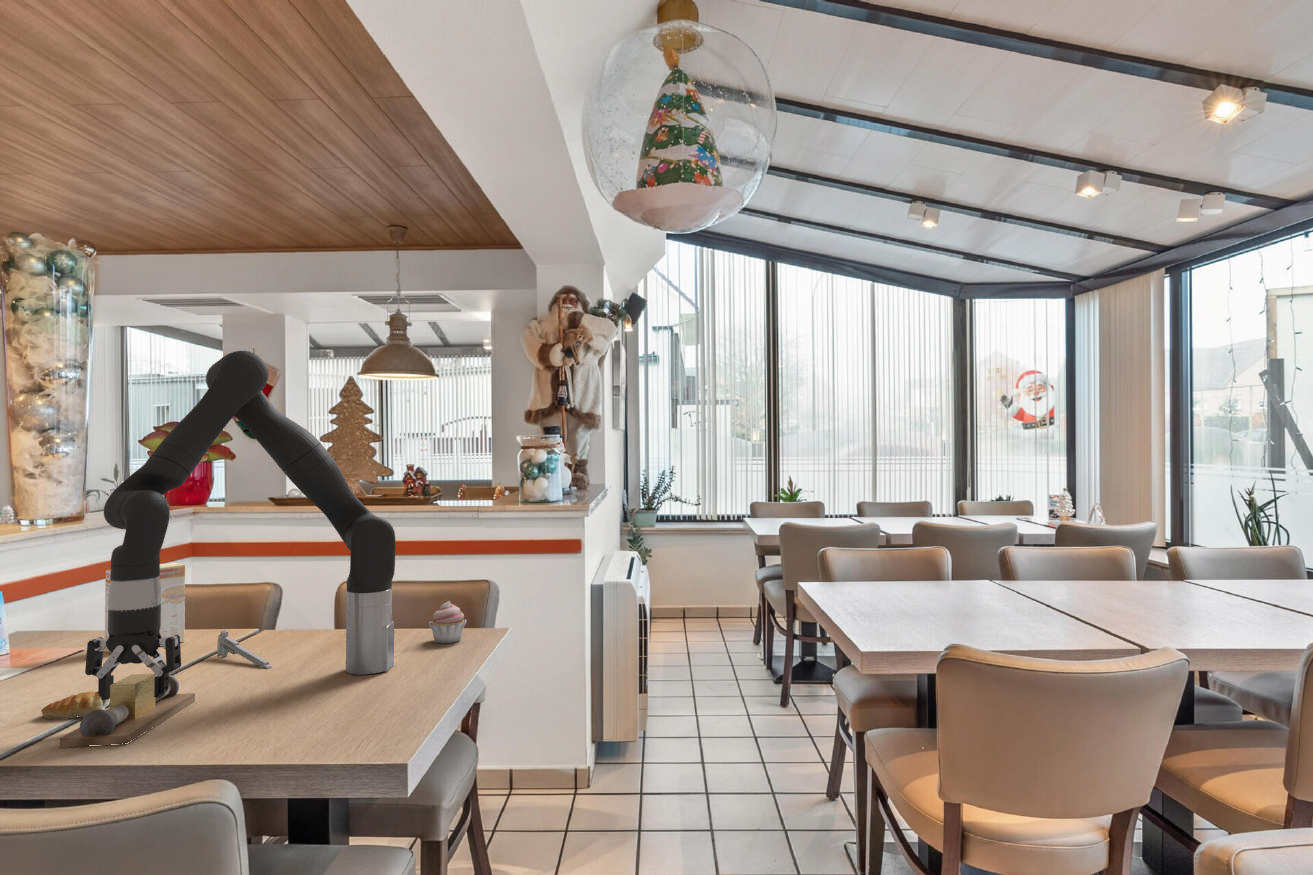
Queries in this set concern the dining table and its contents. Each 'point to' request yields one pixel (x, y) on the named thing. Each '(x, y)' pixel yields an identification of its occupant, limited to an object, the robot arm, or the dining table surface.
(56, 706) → the pastry
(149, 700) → the coupler
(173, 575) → the coffeecake box
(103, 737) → the shaft mount
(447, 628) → the cupcake
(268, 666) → the caliper
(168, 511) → the robot arm
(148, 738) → the dining table surface
